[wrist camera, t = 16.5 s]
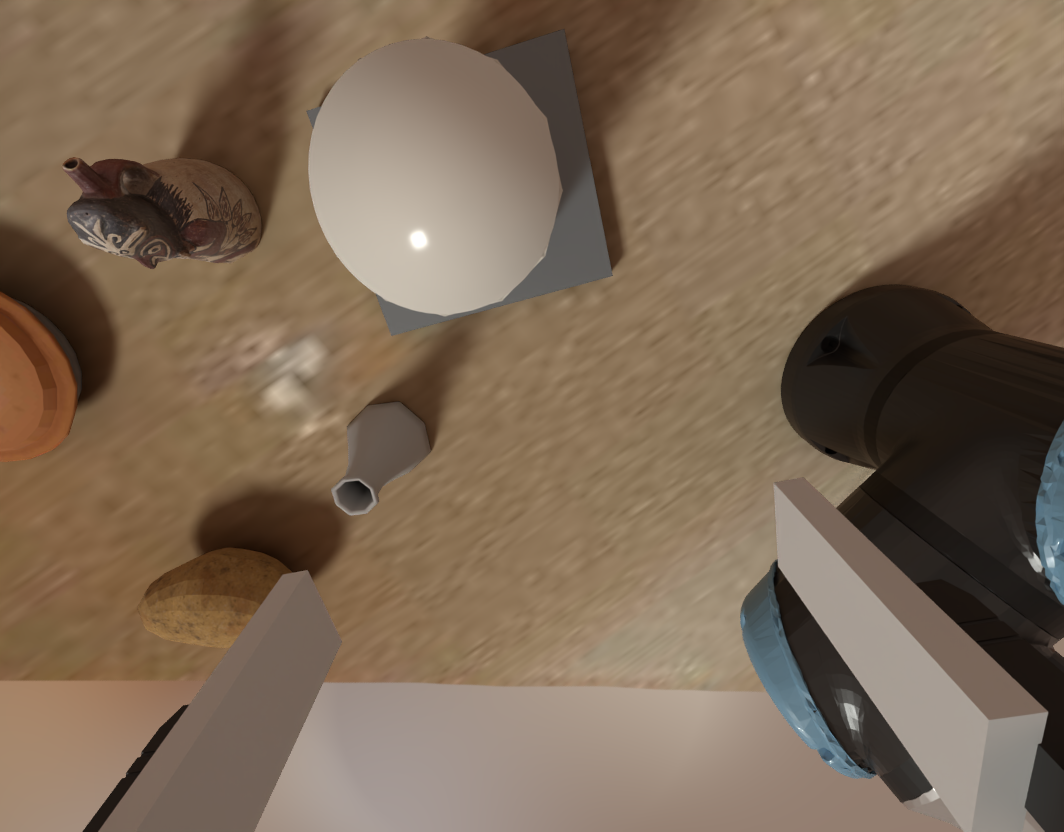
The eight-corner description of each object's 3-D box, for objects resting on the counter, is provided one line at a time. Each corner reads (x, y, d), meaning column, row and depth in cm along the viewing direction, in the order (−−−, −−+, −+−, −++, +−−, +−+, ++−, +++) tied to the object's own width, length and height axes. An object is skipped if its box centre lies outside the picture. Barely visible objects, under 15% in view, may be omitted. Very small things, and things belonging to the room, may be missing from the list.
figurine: (172, 255, 38) (28, 272, 27) (158, 153, 36) (-8, 126, 25) (266, 268, 39) (161, 290, 28) (259, 168, 36) (141, 149, 25)
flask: (403, 387, 43) (369, 435, 33) (445, 454, 45) (424, 516, 36) (333, 420, 44) (281, 476, 35) (377, 484, 46) (340, 552, 37)
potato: (166, 528, 48) (100, 585, 40) (311, 529, 48) (272, 586, 41) (190, 606, 52) (134, 672, 44) (326, 607, 52) (292, 672, 44)
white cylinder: (523, 86, 33) (522, 0, 20) (562, 256, 37) (583, 280, 24) (366, 135, 34) (262, 84, 21) (422, 295, 38) (365, 339, 25)
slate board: (562, 36, 33) (564, 28, 32) (609, 273, 39) (612, 275, 38) (315, 115, 35) (306, 111, 33) (396, 331, 41) (391, 335, 39)
